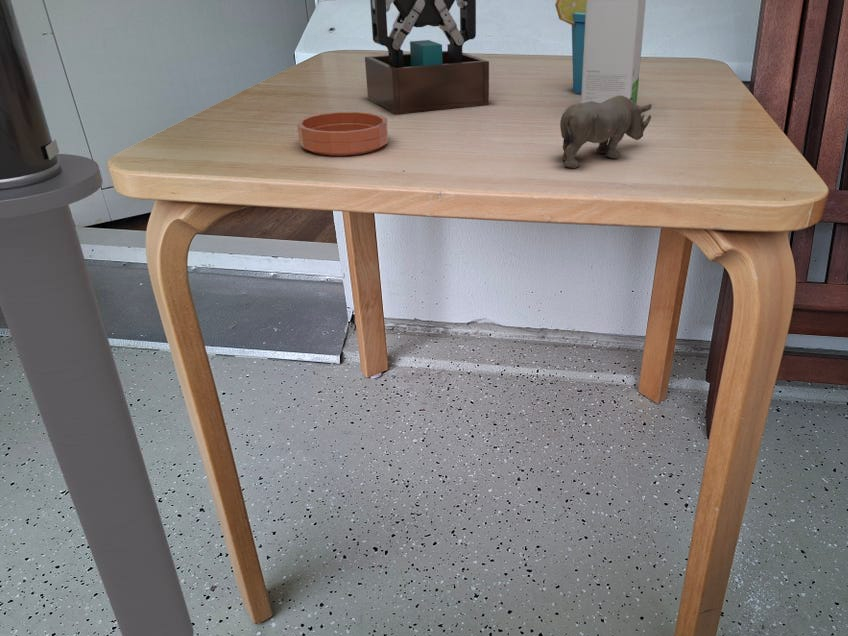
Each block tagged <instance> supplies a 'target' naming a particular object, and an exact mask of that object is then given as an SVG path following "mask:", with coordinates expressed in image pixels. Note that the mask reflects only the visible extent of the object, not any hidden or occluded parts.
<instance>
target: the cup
mask: <svg viewBox="0 0 848 636" xmlns="http://www.w3.org/2000/svg"><path fill="white" fill-rule="evenodd" d="M555 9H556V12H557V16H558V19H559V20H561V21H562V22H565V23H566V24H568V25H571V51H572V52H571V53H572V55H571V56H572V91H573V92H574V93H575V94H578V95H581V93H582V74H583V55H584V36H585V17H586V0H556V2H555Z"/></svg>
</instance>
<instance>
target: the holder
mask: <svg viewBox="0 0 848 636" xmlns="http://www.w3.org/2000/svg"><path fill="white" fill-rule="evenodd" d="M403 61H404V67H400V68H395V67H392V66H390V65H389V55H388V54H385V55H372V56H371V55H369V56H364V64H365V66H364V67H365V77H366V92H367V99H368V100H369V101H371V102H372V103H374V104H376V105H378V106H379V107H381V108H383V109H385V110H386V111H388V112H390V113H391V114H393V115H401V114H402V115H404V114H412V113H419V112H421V113H422V112H429V111H430V112H431V111H441V110H448V109H449V110H450V109H456V108H457V109H459V108H467V107H478V106H487V105H489V103H490V94H489V93H490V91H489V90H490V61H489V60H486V59H483V58H481V57H477V56H474V55H471V54H468V53H465V52H463V51H462V63H449V64H448V50H442V62H443V64H437V65H425V66H412V67H411V55H410V53H403Z"/></svg>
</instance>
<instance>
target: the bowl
mask: <svg viewBox="0 0 848 636" xmlns="http://www.w3.org/2000/svg"><path fill="white" fill-rule="evenodd" d="M296 127H297V136H298V142H299V145H300V147H302V148H303V149H304V150H306V151H309V152H311V153H314V154H316V155H322V156H333V157H334V156H335V157H336V156H337V157H342V156H343V157H344V156H346V157H347V156H356V155H362V154H368V153H371V152H375V151H377V150H379V149H381V148H382V147H383V146H385V145H387V144H388V142H389V130H388V118H386V117H384V116H383V115H381V114H378V113H372V112H365V111H332V112H322V113H318V114H313V115H309V116H307V117H304V118H301V119H300V120H299V121H298V122H297V124H296Z"/></svg>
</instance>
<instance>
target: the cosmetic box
mask: <svg viewBox="0 0 848 636" xmlns="http://www.w3.org/2000/svg"><path fill="white" fill-rule="evenodd" d="M646 2H647V0H586V17H585V36H584V55H583V74H582V93H581V94H580V104H581V103H585V102H590V101H593V102H597V103H602V102H604V101H606V100H608V99H611V98H613V97H615V96H619V95H620V96H625V97H627V98H628V99H630V98H631V97H632V98H633V99H634V103H635V104H636V105H638V94H639V82H640V71H641V70H640V69H641V61H642V60H641V58H642V51H643V49H642V48H643V38H644V37H643V35H644V26H645V25H644V24H645V13H646Z"/></svg>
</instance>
